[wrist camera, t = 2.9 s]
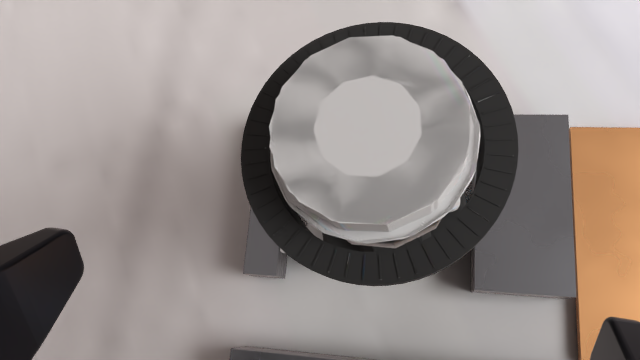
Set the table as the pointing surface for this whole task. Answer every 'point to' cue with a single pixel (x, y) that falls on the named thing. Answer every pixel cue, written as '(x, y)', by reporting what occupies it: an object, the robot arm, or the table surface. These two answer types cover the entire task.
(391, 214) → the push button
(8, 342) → the robot arm
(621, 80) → the table surface
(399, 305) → the table surface
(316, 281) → the table surface
